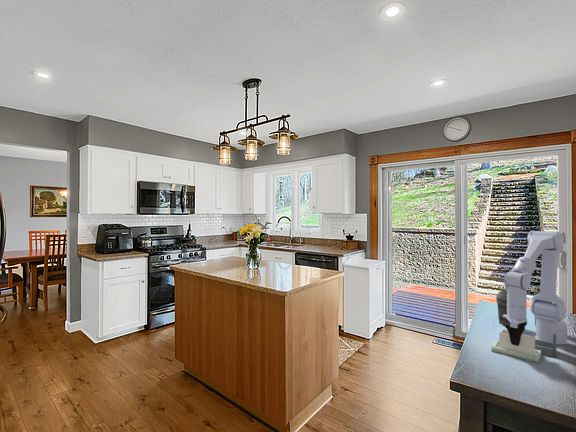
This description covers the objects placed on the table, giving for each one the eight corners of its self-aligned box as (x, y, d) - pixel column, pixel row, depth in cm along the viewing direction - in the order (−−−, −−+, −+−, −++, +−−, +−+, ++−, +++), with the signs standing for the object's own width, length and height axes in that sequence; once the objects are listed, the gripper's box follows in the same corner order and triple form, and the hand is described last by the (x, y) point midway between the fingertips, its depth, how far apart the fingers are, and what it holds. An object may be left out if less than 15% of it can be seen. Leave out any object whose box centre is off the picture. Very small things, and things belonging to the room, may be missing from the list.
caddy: (534, 353, 111) (535, 336, 110) (533, 357, 107) (534, 340, 107) (501, 344, 117) (501, 328, 117) (498, 348, 114) (499, 332, 114)
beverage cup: (514, 323, 143) (514, 280, 143) (515, 328, 137) (516, 283, 137) (495, 320, 147) (495, 278, 147) (495, 325, 141) (496, 281, 141)
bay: (556, 350, 115) (556, 328, 115) (555, 357, 109) (556, 334, 109) (531, 344, 120) (531, 323, 120) (529, 350, 114) (529, 329, 114)
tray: (540, 354, 111) (541, 350, 111) (539, 363, 104) (539, 358, 104) (495, 343, 120) (495, 340, 120) (491, 350, 114) (491, 346, 114)
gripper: (506, 299, 120) (505, 334, 120) (500, 307, 110) (499, 345, 110) (529, 302, 116) (528, 339, 116) (525, 311, 105) (524, 351, 105)
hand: (516, 342), depth 112 cm, fingers closed on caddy, 5 cm apart
